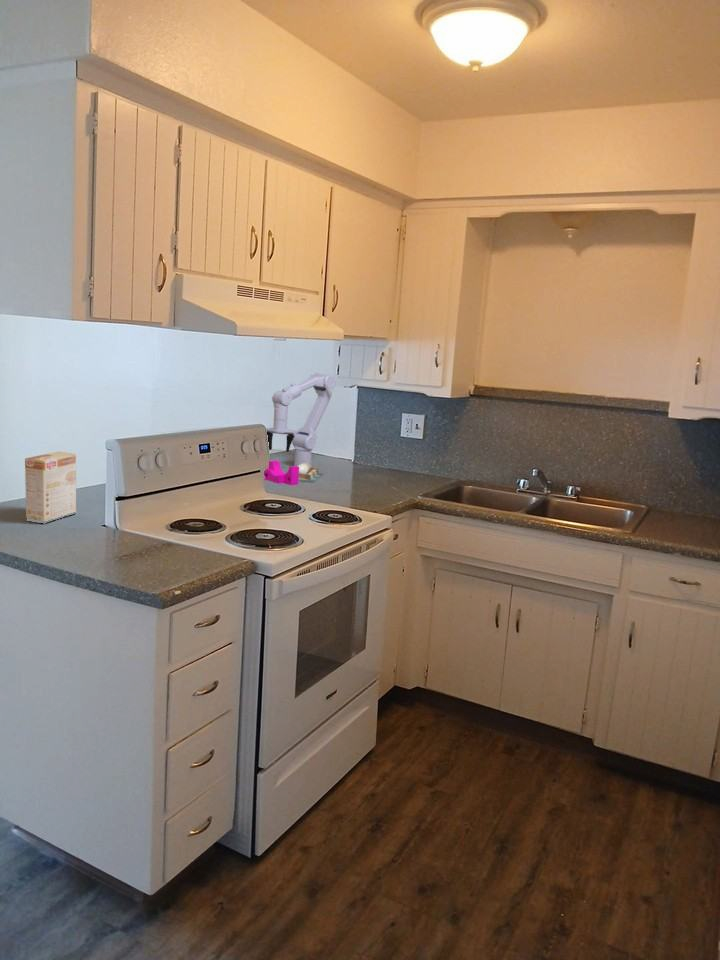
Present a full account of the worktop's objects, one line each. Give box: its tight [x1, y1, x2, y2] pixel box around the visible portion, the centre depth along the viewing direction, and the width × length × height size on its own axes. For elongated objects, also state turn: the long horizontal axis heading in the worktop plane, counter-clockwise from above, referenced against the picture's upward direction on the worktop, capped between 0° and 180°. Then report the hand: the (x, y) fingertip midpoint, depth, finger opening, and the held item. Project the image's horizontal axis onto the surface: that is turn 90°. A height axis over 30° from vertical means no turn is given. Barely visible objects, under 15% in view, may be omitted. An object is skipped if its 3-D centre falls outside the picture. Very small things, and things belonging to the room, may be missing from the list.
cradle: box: [285, 465, 324, 483], centre depth 328 cm, size 20×14×3 cm
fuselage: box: [298, 462, 312, 474], centre depth 328 cm, size 12×5×5 cm, turn 171°
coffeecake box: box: [24, 451, 77, 521], centre depth 235 cm, size 15×7×20 cm, turn 162°
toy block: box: [264, 460, 300, 486], centre depth 314 cm, size 15×6×8 cm, turn 46°
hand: (278, 450), depth 333 cm, fingers open, 7 cm apart
